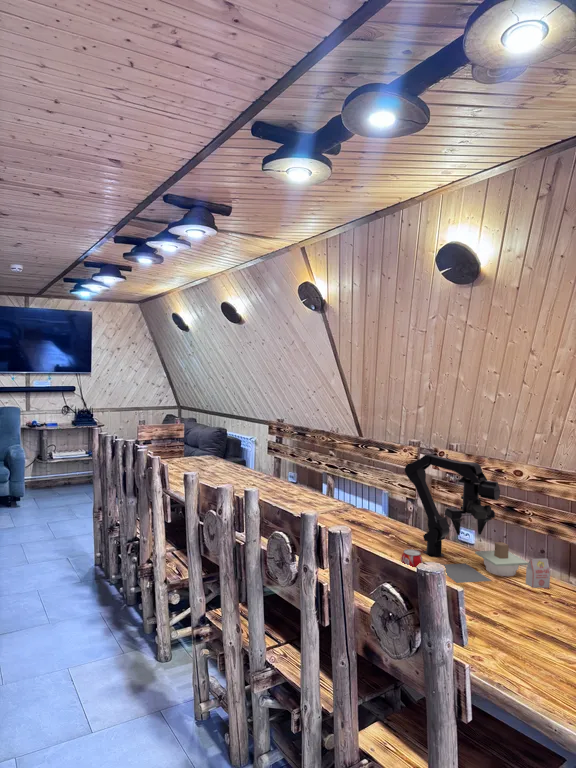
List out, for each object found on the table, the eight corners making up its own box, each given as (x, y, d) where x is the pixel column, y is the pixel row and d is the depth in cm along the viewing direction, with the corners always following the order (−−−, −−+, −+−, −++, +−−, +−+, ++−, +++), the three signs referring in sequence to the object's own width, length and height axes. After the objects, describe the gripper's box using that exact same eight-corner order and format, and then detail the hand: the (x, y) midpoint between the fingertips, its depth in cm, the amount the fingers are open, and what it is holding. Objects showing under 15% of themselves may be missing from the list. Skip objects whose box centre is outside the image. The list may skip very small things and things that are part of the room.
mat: (433, 566, 197) (433, 564, 197) (465, 564, 201) (465, 563, 201) (456, 584, 181) (456, 582, 181) (491, 582, 184) (491, 580, 184)
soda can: (421, 591, 173) (423, 556, 173) (400, 589, 175) (401, 554, 175) (420, 583, 180) (422, 549, 180) (400, 581, 182) (401, 547, 182)
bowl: (477, 566, 199) (477, 553, 199) (504, 565, 201) (505, 552, 201) (496, 578, 187) (496, 565, 187) (524, 577, 190) (525, 564, 190)
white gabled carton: (525, 584, 183) (526, 557, 183) (542, 584, 184) (543, 556, 184) (532, 589, 179) (533, 560, 179) (549, 588, 180) (550, 560, 180)
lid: (475, 553, 199) (475, 538, 199) (505, 552, 202) (506, 537, 202) (496, 566, 186) (497, 550, 186) (528, 564, 189) (529, 549, 189)
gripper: (460, 500, 190) (458, 542, 190) (504, 499, 194) (502, 540, 194) (445, 493, 201) (443, 532, 201) (487, 493, 205) (485, 531, 205)
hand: (468, 534), depth 200 cm, fingers open, 9 cm apart
